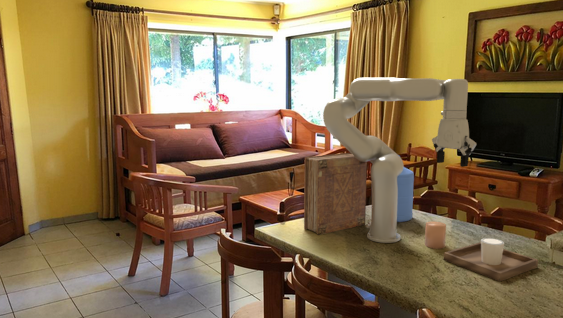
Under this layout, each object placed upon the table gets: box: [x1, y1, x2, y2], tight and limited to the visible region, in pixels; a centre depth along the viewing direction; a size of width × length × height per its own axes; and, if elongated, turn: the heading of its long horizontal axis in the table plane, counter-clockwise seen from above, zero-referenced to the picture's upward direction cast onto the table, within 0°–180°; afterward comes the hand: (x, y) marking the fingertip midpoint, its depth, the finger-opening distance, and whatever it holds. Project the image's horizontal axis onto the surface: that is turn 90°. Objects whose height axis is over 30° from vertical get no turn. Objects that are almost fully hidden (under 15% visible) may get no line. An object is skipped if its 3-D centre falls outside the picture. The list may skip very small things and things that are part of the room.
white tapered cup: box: [480, 237, 505, 265], centre depth 141 cm, size 7×7×7 cm
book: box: [303, 152, 368, 236], centre depth 180 cm, size 25×9×30 cm, turn 122°
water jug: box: [397, 154, 415, 223], centre depth 194 cm, size 16×16×28 cm
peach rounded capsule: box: [424, 220, 447, 250], centre depth 159 cm, size 7×7×8 cm
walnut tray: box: [443, 241, 539, 282], centre depth 142 cm, size 20×20×2 cm
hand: (451, 164), depth 153 cm, fingers open, 9 cm apart
